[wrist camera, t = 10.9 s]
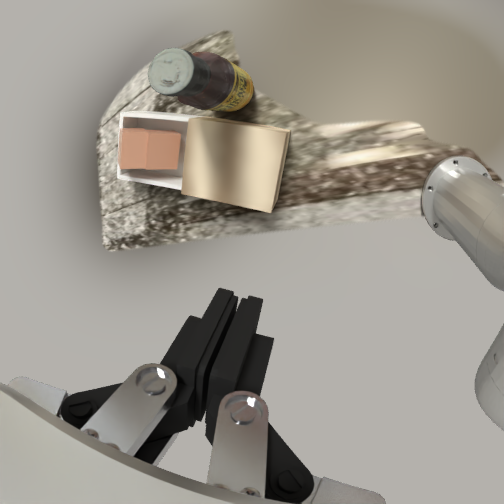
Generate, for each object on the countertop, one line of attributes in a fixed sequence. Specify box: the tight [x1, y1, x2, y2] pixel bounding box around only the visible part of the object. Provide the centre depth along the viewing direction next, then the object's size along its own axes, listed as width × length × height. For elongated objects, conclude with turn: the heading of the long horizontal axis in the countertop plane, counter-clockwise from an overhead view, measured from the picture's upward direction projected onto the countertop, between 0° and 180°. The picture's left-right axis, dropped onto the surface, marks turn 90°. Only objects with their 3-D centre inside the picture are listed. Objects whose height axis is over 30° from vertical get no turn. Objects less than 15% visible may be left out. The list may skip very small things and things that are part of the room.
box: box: [117, 111, 206, 190], centre depth 41 cm, size 12×10×4 cm
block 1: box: [118, 128, 148, 169], centre depth 39 cm, size 4×5×4 cm
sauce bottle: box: [148, 48, 254, 111], centre depth 29 cm, size 7×6×20 cm
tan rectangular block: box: [181, 117, 291, 213], centre depth 39 cm, size 12×10×6 cm
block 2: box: [145, 130, 181, 170], centre depth 40 cm, size 4×5×4 cm
